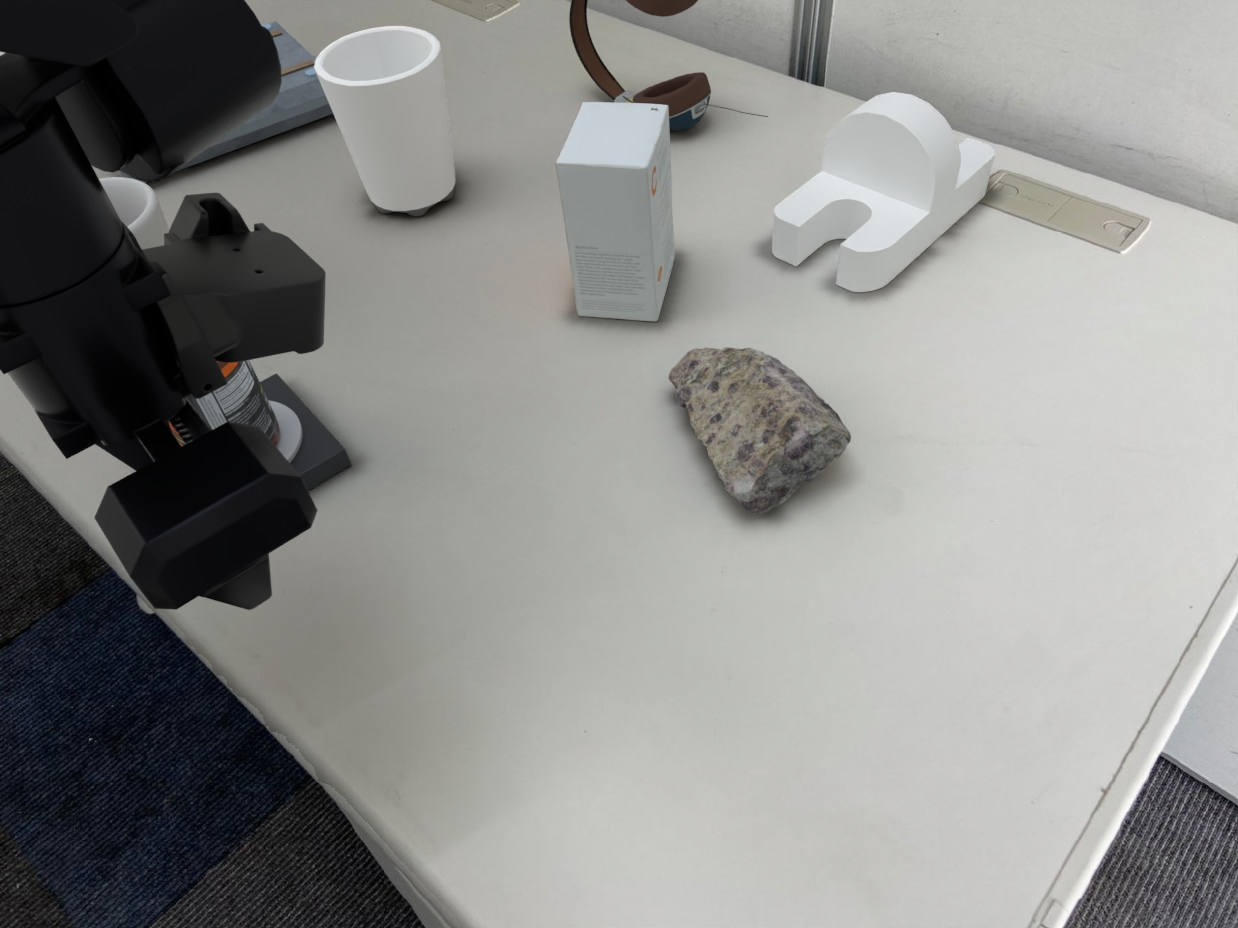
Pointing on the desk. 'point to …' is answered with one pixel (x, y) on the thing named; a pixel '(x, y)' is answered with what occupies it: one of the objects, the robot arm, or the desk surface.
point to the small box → (618, 208)
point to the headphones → (679, 93)
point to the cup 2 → (392, 114)
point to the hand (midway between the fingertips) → (215, 538)
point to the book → (278, 100)
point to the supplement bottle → (236, 402)
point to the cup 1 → (137, 209)
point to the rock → (757, 423)
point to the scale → (303, 436)
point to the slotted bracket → (883, 190)
